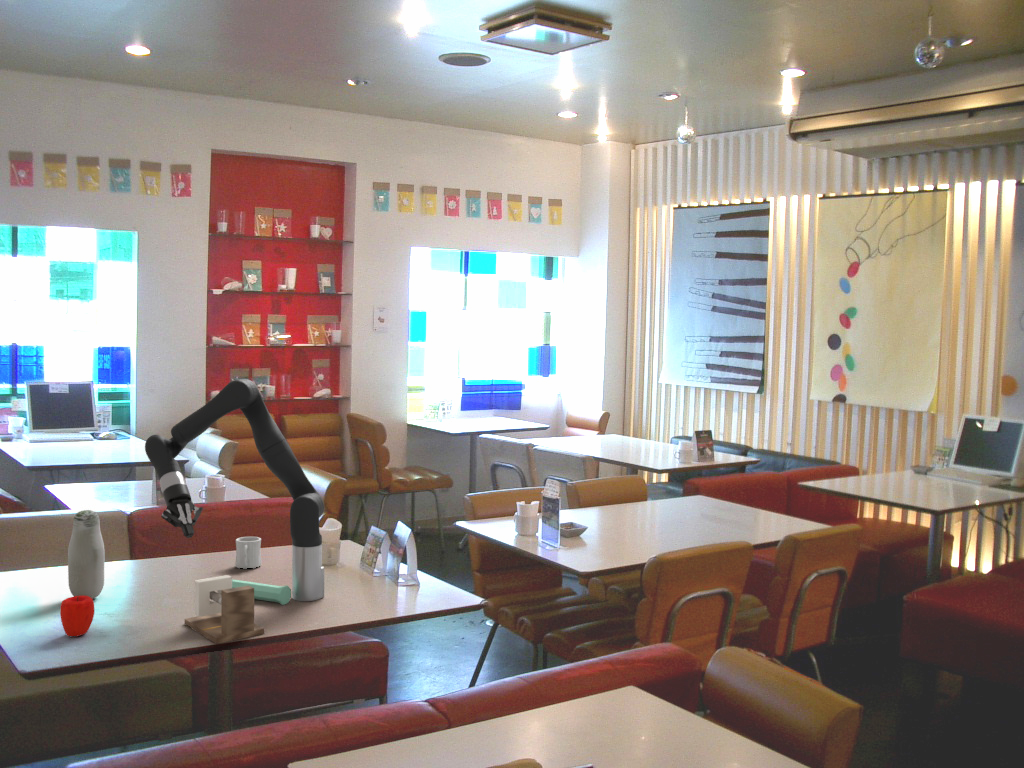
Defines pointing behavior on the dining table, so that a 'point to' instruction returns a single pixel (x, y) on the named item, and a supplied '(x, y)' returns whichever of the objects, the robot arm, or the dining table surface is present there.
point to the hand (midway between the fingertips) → (190, 536)
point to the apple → (77, 615)
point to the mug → (248, 552)
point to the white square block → (203, 594)
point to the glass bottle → (86, 556)
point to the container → (266, 591)
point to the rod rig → (229, 616)
